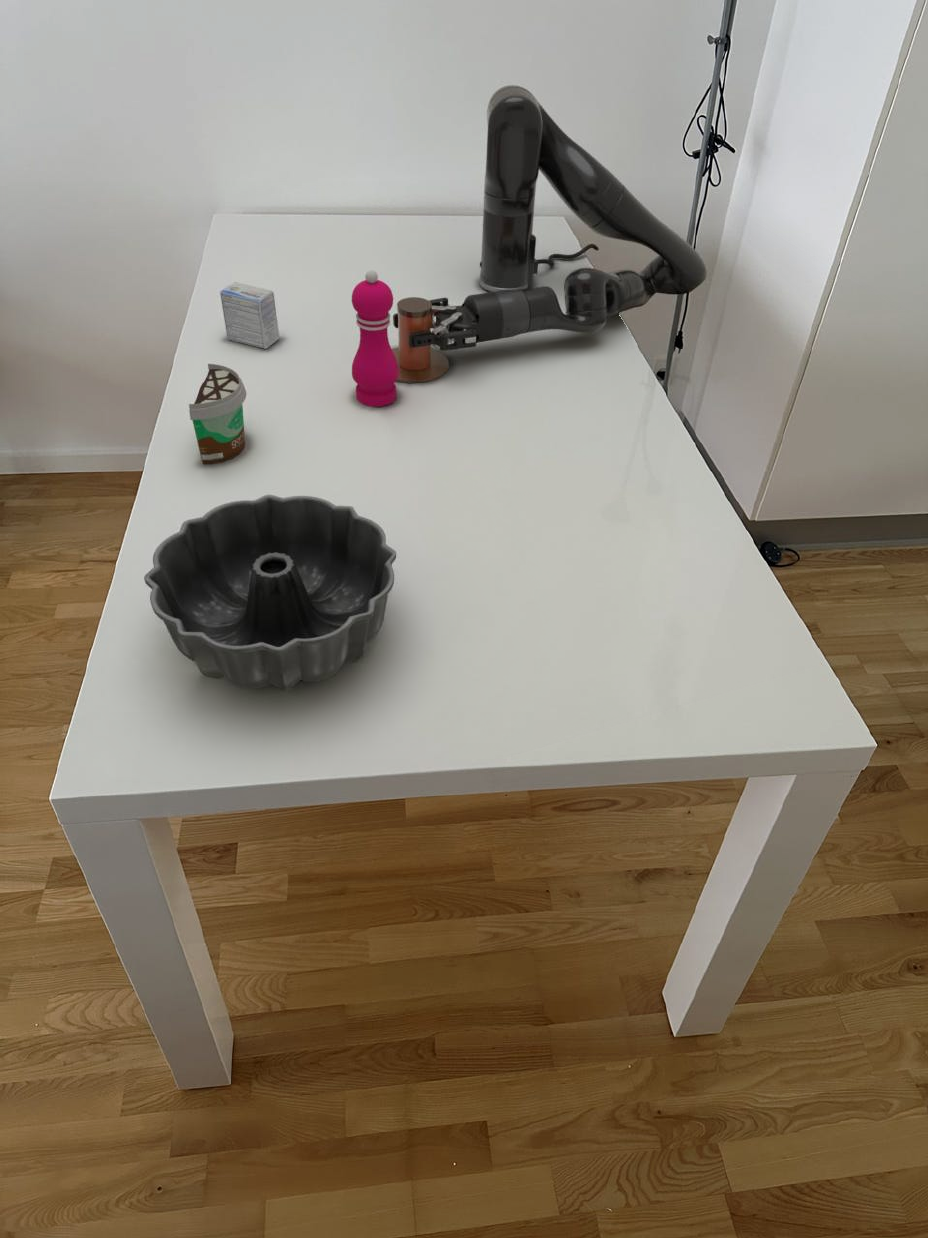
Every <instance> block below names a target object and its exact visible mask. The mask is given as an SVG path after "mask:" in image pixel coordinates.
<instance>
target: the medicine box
mask: <svg viewBox="0 0 928 1238" xmlns="http://www.w3.org/2000/svg"><path fill="white" fill-rule="evenodd" d="M274 292H275V291H273V290H270V289H267V288H263V287H259V286H254V285H249V284H246V283H241V282H236V281H235V282H233V283H231V284H228V285H227V286H226V287H224V288H223V289H222V290H220V291H219V295H220V299H221V300H220V301H221V309H222V313H223V321H224V326H225V333H226V338H227V340H229V341H233V342H237V343H242V344H245V345H249V346H253V347H257V348H261V349H265V350H267V349H268V348H270V347H271V346H272V345H273V344H275V343H276V342H277V341H279V340H280V330H279V323H278V316H277V308H276V299H275V293H274Z"/></svg>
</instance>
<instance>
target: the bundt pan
mask: <svg viewBox="0 0 928 1238" xmlns="http://www.w3.org/2000/svg"><path fill="white" fill-rule="evenodd" d="M396 559H397V551H396V550H395V549H393V548H392V547H391V546H389V545H388V544H387V538H386V533H385V531H384V529H383V528H382V527H381V526H380V525H379V524H378V523H377V522H375V521H374V520H372V519H369V518H367V517H364V516H361V515H359V514H358V513H357V512H356V510H355V508H354V506H350V505H335V503H333V502H330V501H329V500H326V499H324V498H321V497H317V496H311V495H293V496H286V497H280V496H277V495H273V494H265V495H263V496H261V497H258V498H257V499H253V500H247V499H246V500H245V499H244V500H236V501H230V502H227V503H223V504H220V505H218V506H216V507H214V508H212V509H210V510H209V511H207V512H206V513H205V514H203V515H202V516H200V517H196V518H190V519H187V520H185V521H183V522H182V524H181V526H180V529H179V531H178V532H176V533H174V534H171V535H170V536H168V537H167V538H165V539H164V540H162V541H161V543H160V544H159V545H158V546H157V547H156V548H155V551H154V552H153V556H152V565H153V567H152V568H151V569H150V570H149V571H148V572H147V573H145V575H144V577H143V580H144V583H145V584H146V586H147V587H148V588H149V589H151V591H150V594H149V601H150V606H151V608H152V611H153V613H154V615H156V616H157V618H159V619H160V620H161V621H162V622H163V623H164V625H165V627H166V630H167V632H168V633H169V636H170V637H171V639H172V641H173V643H174V645H175V647H176V648H177V650H178V651H179V652H180V653H181V654H182V655H183V656H184V657H185V658H187V659H188V660H191V661H193V662H195V665H196V667H197V669H198V671H199V672H200V673H201V674H202V675H203V676H205V677H206V678H208V679H212V680H219V679H224V678H225V680H226V681H228V682H229V683H231V684H232V685H234V686H236V687H237V688H242V689H247V690H256V689H262V688H265V687H267V686H269V685H273V686H275V687H277V688H278V689H281V690H282V691H284V692H288V691H290V690H291V689H292V688H293V687H294V686H295V685H297V684H298V683H299V682H300V681H302V682H303V681H304V682H310V683H312V682H313V683H316V682H321V681H324V680H327V679H329V678H331V677H332V676H333V675H335V674H336V673H337V672H338V671H339V670H340V669H341V667H342V666H343V664H354V663H356V662H358V661H360V660H361V659H362V657H364V654H365V653H366V649H367V648H366V647H367V644H368V643H369V642H371V641H372V640H374V638H375V637H376V636H377V635H378V633H379V632H380V630H381V628H382V626H383V623H384V619H385V614H386V608H387V602H388V596H389V594H390V592H391V591H392V589H393V587H394V584H395V571H394V568H393V564H394V562H395V561H396Z"/></svg>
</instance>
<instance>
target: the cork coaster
mask: <svg viewBox="0 0 928 1238" xmlns="http://www.w3.org/2000/svg"><path fill="white" fill-rule="evenodd" d="M391 349H392V351H393V353H394V355H395V357H396V360H397V363H398V368H399V376H398V379H397V380H396V382H399V383H403V384H404V383H406V384H420V383H428V382H431V381H434V380H438V379H440V378H442V377H443V376H444V375H445V374H446V373H447V372H448V370H449V368H450V362H449V359H448V358H447V356H445V354H443V353H442V352H440V351H437V350H435V349H433V348H431V363H430V365H429V367H427V368H425V369H422V370H408V369H405V368H403V367H401V366H400V364H399V347H394V348H391Z"/></svg>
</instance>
